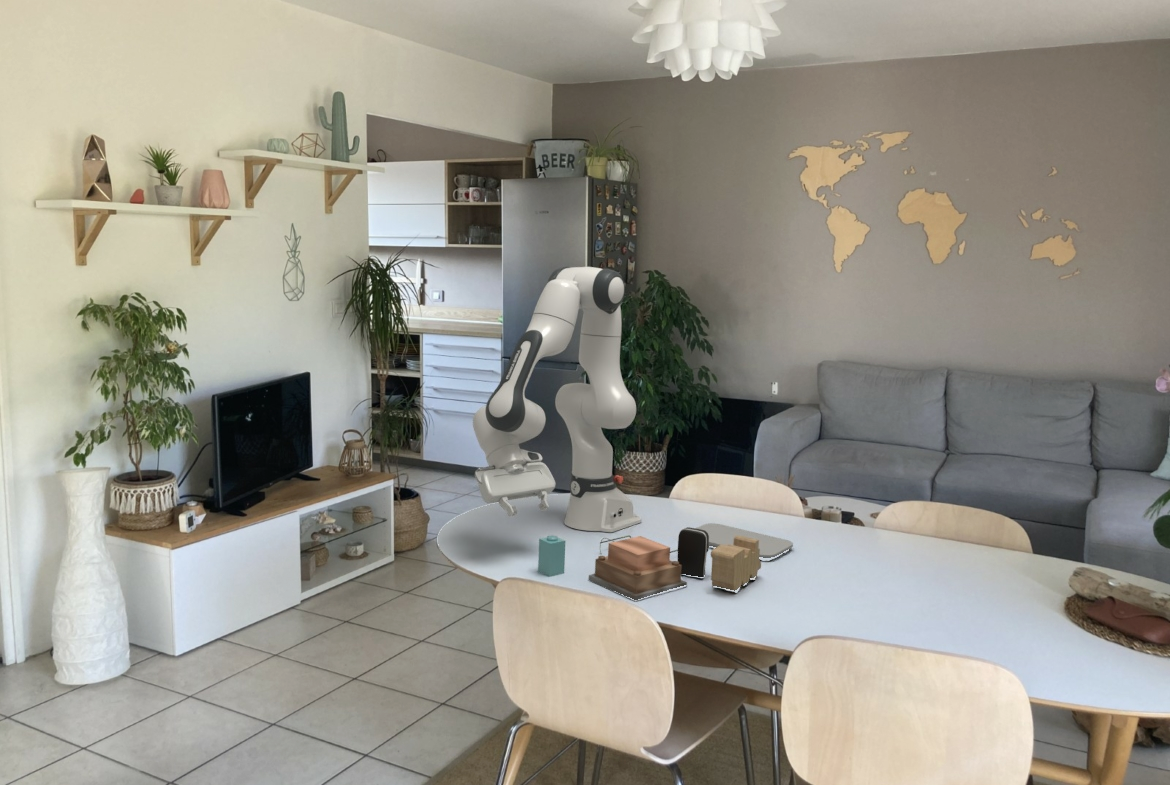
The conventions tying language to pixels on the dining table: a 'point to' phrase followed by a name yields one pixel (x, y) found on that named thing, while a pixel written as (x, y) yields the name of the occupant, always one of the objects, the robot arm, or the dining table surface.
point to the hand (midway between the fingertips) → (529, 511)
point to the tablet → (726, 536)
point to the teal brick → (551, 556)
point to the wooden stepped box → (637, 568)
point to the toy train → (735, 563)
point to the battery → (693, 551)
